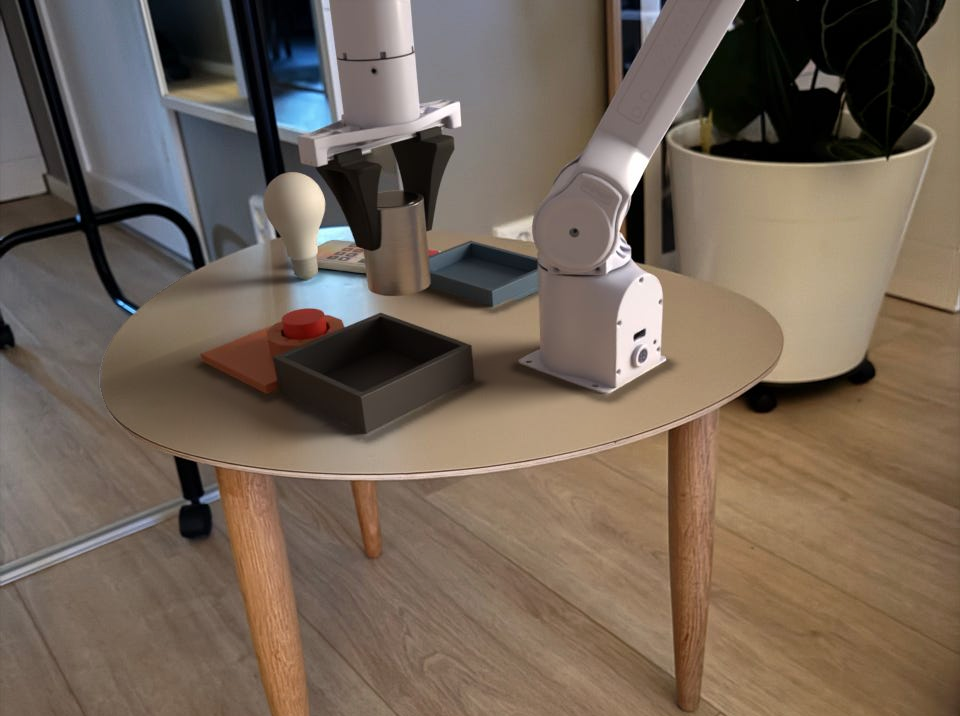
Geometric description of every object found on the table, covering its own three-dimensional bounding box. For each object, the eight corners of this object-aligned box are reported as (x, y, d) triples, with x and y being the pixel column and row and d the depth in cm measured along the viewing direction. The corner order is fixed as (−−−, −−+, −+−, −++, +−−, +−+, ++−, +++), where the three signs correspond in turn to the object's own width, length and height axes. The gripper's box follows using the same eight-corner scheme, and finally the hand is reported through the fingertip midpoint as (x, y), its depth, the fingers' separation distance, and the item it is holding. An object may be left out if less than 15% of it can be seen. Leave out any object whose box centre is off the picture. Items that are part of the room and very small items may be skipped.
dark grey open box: (475, 384, 76) (471, 344, 74) (366, 439, 69) (360, 397, 68) (385, 349, 83) (380, 312, 81) (279, 396, 76) (271, 356, 75)
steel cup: (444, 281, 78) (437, 196, 74) (396, 301, 75) (387, 212, 71) (402, 268, 81) (393, 186, 77) (355, 287, 78) (343, 201, 74)
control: (363, 358, 82) (358, 325, 80) (269, 399, 76) (262, 366, 74) (294, 329, 88) (289, 299, 86) (203, 365, 82) (195, 334, 81)
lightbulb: (332, 288, 96) (314, 179, 91) (272, 291, 97) (252, 183, 91) (340, 267, 102) (324, 163, 96) (284, 271, 102) (264, 167, 96)
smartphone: (330, 238, 107) (446, 250, 101) (331, 246, 108) (447, 258, 102) (291, 258, 102) (412, 272, 96) (293, 267, 102) (412, 281, 96)
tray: (557, 282, 94) (557, 263, 93) (493, 311, 88) (491, 291, 87) (471, 258, 101) (470, 240, 100) (407, 284, 96) (405, 265, 95)
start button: (335, 331, 80) (332, 314, 79) (301, 345, 78) (298, 328, 77) (310, 321, 82) (307, 304, 82) (276, 335, 80) (273, 318, 80)
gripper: (412, 37, 75) (427, 207, 82) (261, 66, 67) (292, 253, 74) (475, 42, 71) (485, 221, 78) (322, 74, 62) (348, 271, 70)
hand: (395, 237), depth 76 cm, fingers closed on steel cup, 5 cm apart
